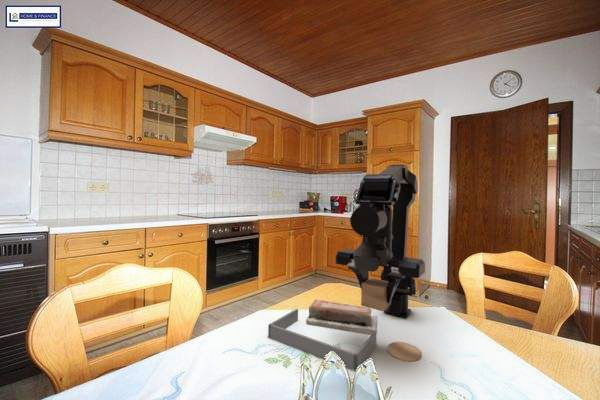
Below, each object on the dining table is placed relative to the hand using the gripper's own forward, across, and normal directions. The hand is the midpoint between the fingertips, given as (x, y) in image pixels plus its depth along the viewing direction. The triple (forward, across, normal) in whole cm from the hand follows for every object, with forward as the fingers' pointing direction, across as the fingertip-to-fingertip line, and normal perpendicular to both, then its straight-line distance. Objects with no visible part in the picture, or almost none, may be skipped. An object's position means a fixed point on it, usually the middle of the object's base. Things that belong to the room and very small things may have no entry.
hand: (376, 299), depth 63 cm
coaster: (+11, +6, +2) cm, 12 cm away
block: (+1, 0, 0) cm, 1 cm away
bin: (+11, -11, -6) cm, 16 cm away
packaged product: (+12, -12, +7) cm, 18 cm away
